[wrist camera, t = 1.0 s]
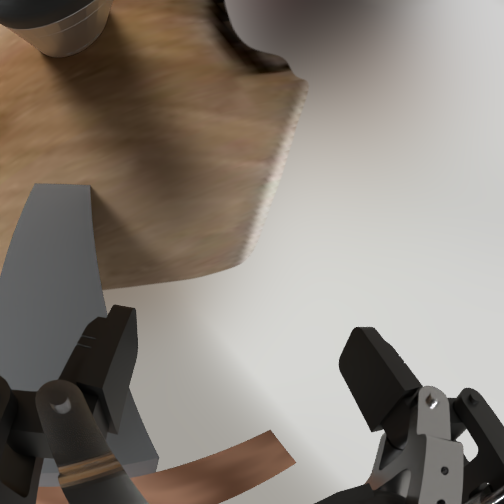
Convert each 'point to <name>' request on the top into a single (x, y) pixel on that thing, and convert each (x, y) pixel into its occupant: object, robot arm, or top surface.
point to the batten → (205, 475)
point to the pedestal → (58, 309)
